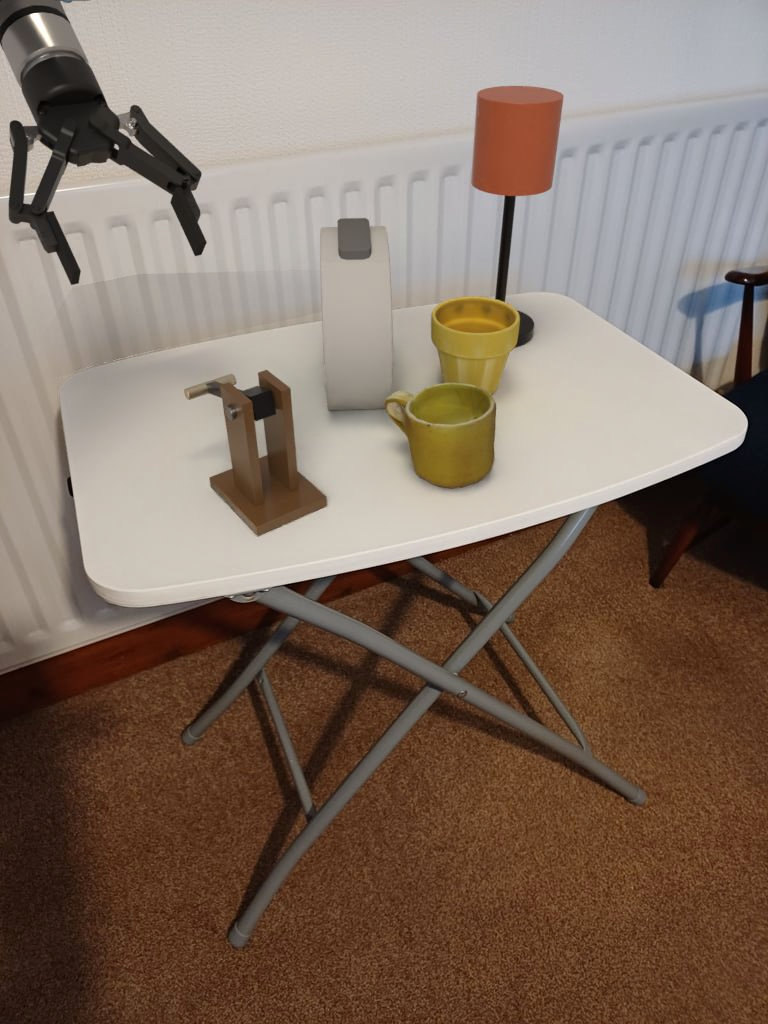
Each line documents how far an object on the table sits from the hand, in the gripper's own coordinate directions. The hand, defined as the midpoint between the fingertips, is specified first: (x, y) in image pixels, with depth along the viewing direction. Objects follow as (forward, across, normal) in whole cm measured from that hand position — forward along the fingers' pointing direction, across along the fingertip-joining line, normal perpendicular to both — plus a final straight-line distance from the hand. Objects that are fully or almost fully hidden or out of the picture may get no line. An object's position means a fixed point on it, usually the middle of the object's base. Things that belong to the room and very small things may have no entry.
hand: (141, 263), depth 81 cm
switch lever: (+18, -1, +4) cm, 19 cm away
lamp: (+17, -46, -8) cm, 50 cm away
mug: (+31, -19, +5) cm, 37 cm away
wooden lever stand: (+27, -2, +1) cm, 27 cm away
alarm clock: (+18, -22, -8) cm, 30 cm away
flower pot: (+24, -33, -2) cm, 41 cm away
